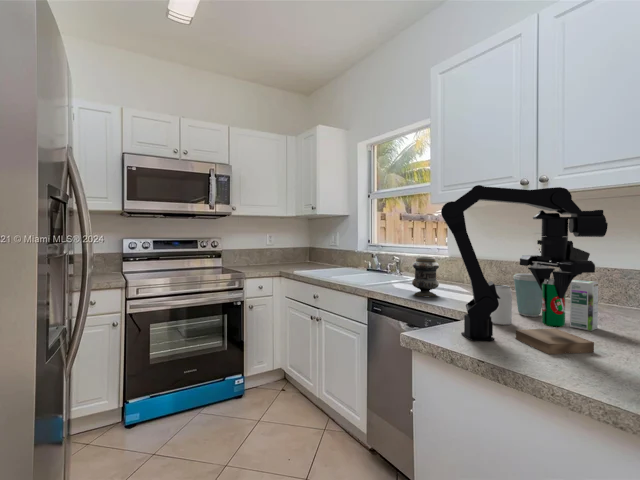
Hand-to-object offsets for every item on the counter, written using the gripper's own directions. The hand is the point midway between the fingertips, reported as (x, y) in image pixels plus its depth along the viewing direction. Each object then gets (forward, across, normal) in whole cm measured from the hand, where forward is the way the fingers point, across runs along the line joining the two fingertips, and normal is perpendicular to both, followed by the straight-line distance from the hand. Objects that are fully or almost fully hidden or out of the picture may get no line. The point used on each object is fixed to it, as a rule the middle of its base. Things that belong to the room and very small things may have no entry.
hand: (553, 296), depth 89 cm
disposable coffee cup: (+13, +31, -17) cm, 37 cm away
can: (+13, +22, 0) cm, 25 cm away
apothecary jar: (+13, +71, +4) cm, 72 cm away
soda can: (+8, 0, 0) cm, 8 cm away
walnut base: (+13, 0, 0) cm, 13 cm away
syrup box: (+13, +14, -22) cm, 29 cm away
